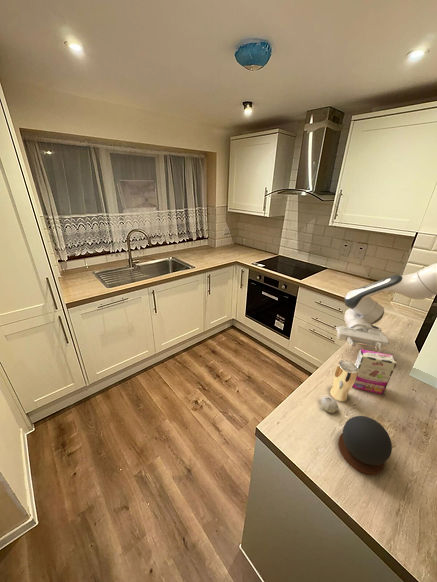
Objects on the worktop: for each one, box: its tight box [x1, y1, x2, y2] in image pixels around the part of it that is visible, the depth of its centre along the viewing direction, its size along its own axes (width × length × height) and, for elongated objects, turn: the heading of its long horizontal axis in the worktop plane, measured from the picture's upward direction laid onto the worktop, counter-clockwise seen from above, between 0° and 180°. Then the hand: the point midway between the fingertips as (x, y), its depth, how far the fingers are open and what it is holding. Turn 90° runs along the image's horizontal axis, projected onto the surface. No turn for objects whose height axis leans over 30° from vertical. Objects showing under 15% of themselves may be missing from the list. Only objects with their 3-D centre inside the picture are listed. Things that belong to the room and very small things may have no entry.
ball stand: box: [337, 415, 393, 476], centre depth 68 cm, size 12×12×13 cm
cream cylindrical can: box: [329, 359, 359, 402], centre depth 86 cm, size 7×7×15 cm
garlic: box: [320, 395, 339, 414], centre depth 83 cm, size 6×5×5 cm
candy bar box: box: [352, 348, 397, 395], centre depth 90 cm, size 11×5×16 cm, turn 73°
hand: (365, 347), depth 99 cm, fingers open, 8 cm apart
